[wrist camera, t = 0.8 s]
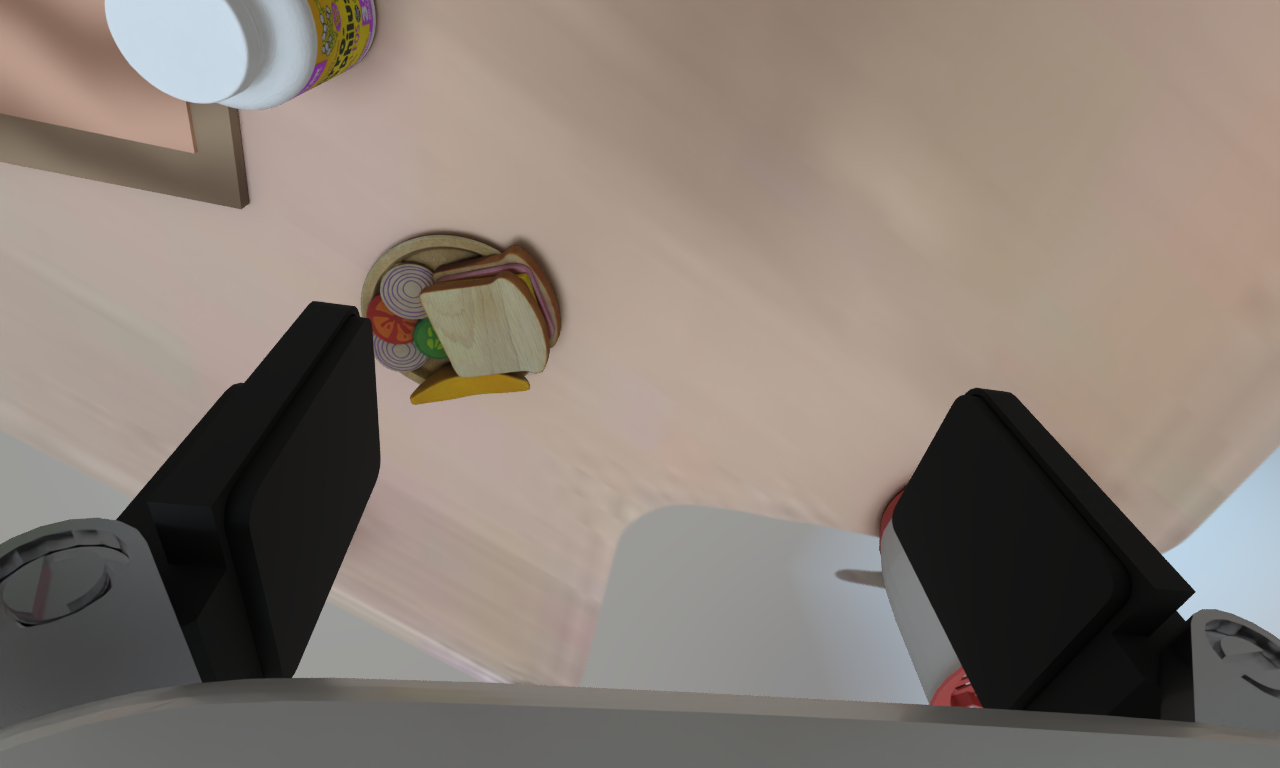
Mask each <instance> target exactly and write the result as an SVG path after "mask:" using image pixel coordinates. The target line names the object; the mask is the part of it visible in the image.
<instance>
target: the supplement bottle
mask: <svg viewBox="0 0 1280 768" xmlns="http://www.w3.org/2000/svg"><path fill="white" fill-rule="evenodd" d="M105 13H106V19H107V23H108V26H109V29H110V32H111V34H112V37H113V39H114V41H115V43H116V45H117V46H118V48H119V50H120V51H121V53H122V54H123V56H124V57H125V59H126V60H127V61H128V63H129V64H130V65H131V66H132V67H133V68H134V69H135V70H136V71H137V72H138V73H139V74H140V75H141V76H142V77H143V78H144V79H145V80H147V81H148V82H149V83H150V84H152V85H153V86H155V87H156V88H157V89H159V90H161V91H162V92H164V93H166V94H168V95H170V96H173V97H175V98H178V99H180V100H184V101H187V102H192V103H200V104H209V103H219V104H221V105H225V106H228V107H232V108H237V109H244V110H262V109H268V108H272V107H276V106H278V105H281V104H283V103H285V102H287V101H289V100H291V99H293V98H294V97H296V96H298V95H300V94H302V93H304V92H306V91H308V90H310V89H312V88H314V87H316V86H318V85H320V84H322V83H323V82H325V81H327V80H329V79H331V78H333V77H335V76H337V75H339V74H341V73H343V72H345V71H347V70H349V69H350V68H352V67H354V66H355V65H356V64H358V63H359V62H360V61H361V60H362V59H363V57H364V56H365V55H366V53H367V52H368V50H369V48H370V46H371V44H372V41H373V38H374V34H375V26H376V14H375V6H374V1H373V0H105Z"/></svg>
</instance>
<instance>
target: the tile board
mask: <svg viewBox="0 0 1280 768" xmlns="http://www.w3.org/2000/svg"><path fill="white" fill-rule="evenodd" d="M0 162H4V163H9V164H14V165H19V166H24V167H29V168H35V169H40V170H45V171H50V172H55V173H60V174H65V175H70V176H75V177H80V178H85V179H91V180H96V181H101V182H106V183H111V184H116V185H121V186H126V187H131V188H136V189H141V190H147V191H152V192H157V193H162V194H167V195H172V196H177V197H182V198H187V199H192V200H197V201H203V202H208V203H213V204H218V205H223V206H228V207H233V208H238V209H242V208H244V207H245V206H246V205H248V204H249V197H248V189H247V181H246V173H245V165H244V157H243V149H242V141H241V133H240V125H239V117H238V109H237V108H232V107H228V106H225V105H221V104H219V103H209V104H200V103H192V102H187V101H184V100H180V99H178V98H175V97H173V96H170V95H168V94H166V93H164V92H162V91H161V90H159V89H157V88H156V87H155V86H153V85H152V84H150V83H149V82H148V81H147V80H145V79H144V78H143V77H142V76H141V75H140V74H139V73H138V72H137V71H136V70H135V69H134V68H133V67H132V66H131V65H130V64H129V63H128V61H127V60H126V59H125V57H124V56H123V54H122V53H121V51H120V50H119V48H118V46H117V45H116V43H115V41H114V39H113V37H112V34H111V32H110V29H109V26H108V23H107V19H106V13H105V0H0Z"/></svg>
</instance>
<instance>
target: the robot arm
mask: <svg viewBox="0 0 1280 768" xmlns="http://www.w3.org/2000/svg"><path fill="white" fill-rule="evenodd" d="M379 469H380V441H379V424H378V408H377V392H376V375H375V359H374V343H373V328H372V322H371V320H370V319H369V318H364V317H360V315H359V312H358V309H357V308H356V307H355V306H348V305H341V304H333V303H326V302H318V301H312V302H311V303H310V304H309V305H308V306H307V307H306V309H305V310H304V311H303V312H302V313H301V315H300V316H299V317H298V318H297V320H296V321H295V322H294V323H293V324H292V326H291V327H290V328H289V329H288V330H287V332H286V333H285V334H284V335H283V337H282V338H281V339H280V340H279V341H278V343H277V344H276V345H275V346H274V348H273V349H272V350H271V351H270V352H269V354H268V355H267V356H266V357H265V358H264V360H263V361H262V362H261V363H260V365H259V366H258V367H257V368H256V369H255V371H254V372H253V373H252V374H251V376H250V377H249V378H248V379H247V380H246V382H245V383H238V384H234V385H232V386H231V387H230V388H229V389H227V390H226V391H225V392H224V393H223V395H222V396H221V397H220V398H219V399H218V401H217V402H216V403H215V404H214V405H213V406H212V408H211V409H210V410H209V411H208V412H207V414H206V415H205V416H204V417H203V418H202V419H201V421H200V422H199V423H198V424H197V425H196V426H195V428H194V429H193V430H192V431H191V432H190V434H189V435H188V436H187V437H186V438H185V439H184V441H183V442H182V443H181V444H180V445H179V446H178V448H177V449H176V450H175V451H174V452H173V454H172V455H171V456H170V457H169V458H168V459H167V461H166V462H165V463H164V464H163V465H162V466H161V468H160V469H159V470H158V471H157V472H156V474H155V475H154V476H153V477H152V478H151V479H150V481H149V482H148V483H147V484H146V485H145V487H144V488H143V489H142V490H141V491H140V492H139V494H138V495H137V496H136V497H135V498H134V499H133V501H132V502H131V503H130V504H129V506H128V507H127V508H126V509H125V510H124V511H123V512H122V514H121V515H120V516H119V517H118V518H117V519H116V520H109V519H102V518H87V519H72V520H66V521H62V522H58V523H54V524H49V525H45V526H41V527H38V528H36V529H33V530H31V531H28V532H26V533H23V534H21V535H18V536H16V537H13V538H11V539H9V540H7V541H6V542H4V543H2V544H1V545H0V768H1280V640H1279V639H1278V638H1277V637H1275V636H1274V635H1272V634H1271V633H1269V632H1268V631H1266V630H1264V629H1262V628H1261V627H1259V626H1257V625H1256V624H1254V623H1252V622H1250V621H1248V620H1245V619H1243V618H1241V617H1238V616H1236V615H1234V614H1231V613H1227V612H1223V611H1219V610H1216V609H1206V610H1205V609H1204V610H1203V609H1202V610H1200V611H1198V612H1197V613H1195V614H1193V615H1192V616H1191V617H1190V618H1189V619H1188V620H1187V621H1185V620H1184V619H1183V618H1182V617H1181V616H1180V615H1179V613H1178V612H1177V611H1176V610H1177V609H1178V608H1179V607H1180V606H1182V605H1183V604H1184V603H1185V602H1186V601H1187V600H1188V599H1189V598H1190V597H1191V596H1192V595H1193V594H1194V593H1195V591H1194V590H1193V588H1192V587H1191V586H1190V585H1189V584H1188V583H1187V582H1186V581H1185V580H1184V579H1183V578H1182V577H1181V576H1180V574H1179V573H1178V572H1177V571H1176V570H1175V569H1174V568H1173V567H1172V566H1171V565H1170V563H1169V562H1167V560H1165V558H1164V557H1163V556H1162V555H1161V554H1160V553H1159V552H1158V550H1157V549H1156V548H1155V547H1154V546H1153V545H1152V544H1151V543H1150V542H1149V541H1148V540H1147V539H1146V537H1145V536H1144V535H1143V534H1142V533H1141V532H1140V531H1139V530H1138V529H1137V528H1136V527H1135V525H1134V524H1133V523H1132V522H1131V521H1130V520H1129V519H1128V518H1127V517H1126V516H1125V515H1124V514H1123V512H1122V511H1121V510H1120V509H1119V508H1118V507H1117V506H1116V505H1115V504H1114V503H1113V502H1112V500H1111V499H1110V498H1109V497H1108V496H1107V495H1106V494H1105V493H1104V492H1103V491H1102V490H1101V489H1100V487H1099V486H1098V485H1097V484H1096V483H1095V482H1094V481H1093V480H1092V479H1091V478H1090V477H1089V476H1088V474H1087V473H1086V472H1085V471H1084V470H1083V469H1082V468H1081V467H1080V466H1079V465H1078V464H1077V462H1076V461H1075V460H1074V459H1073V458H1072V457H1071V456H1070V455H1069V454H1068V453H1067V452H1066V451H1065V449H1064V448H1063V447H1062V446H1061V445H1060V444H1059V443H1058V442H1057V441H1056V440H1055V439H1054V437H1053V436H1052V435H1051V434H1050V433H1049V432H1048V431H1047V430H1046V429H1045V428H1044V427H1043V426H1042V424H1041V423H1040V422H1039V421H1038V420H1037V419H1036V418H1035V417H1034V416H1033V415H1032V414H1031V413H1030V411H1029V410H1028V409H1027V408H1026V407H1025V406H1024V405H1023V404H1022V403H1021V402H1020V401H1019V399H1018V398H1017V397H1016V396H1014V395H1013V394H1012V393H1009V392H1004V391H996V390H989V389H981V388H974V389H971V390H969V391H968V392H967V393H966V394H965V395H962V396H959V397H958V398H957V399H956V400H955V401H954V403H953V405H952V406H951V408H950V410H949V412H948V414H947V415H946V417H945V419H944V421H943V422H942V424H941V426H940V428H939V430H938V431H937V433H936V435H935V437H934V438H933V440H932V442H931V444H930V446H929V447H928V449H927V451H926V453H925V454H924V456H923V458H922V460H921V462H920V463H919V465H918V467H917V469H916V470H915V472H914V474H913V476H912V478H911V479H910V481H909V483H908V485H907V486H906V488H905V490H904V492H903V494H902V495H901V497H900V499H899V501H898V502H897V504H896V506H895V508H894V510H893V514H892V525H893V529H894V531H895V533H896V535H897V537H898V539H899V541H900V543H901V545H902V547H903V549H904V551H905V553H906V555H907V557H908V559H909V561H910V563H911V565H912V567H913V569H914V571H915V573H916V575H917V577H918V579H919V581H920V583H921V585H922V587H923V589H924V591H925V593H926V595H927V597H928V599H929V601H930V603H931V605H932V607H933V609H934V611H935V613H936V615H937V617H938V619H939V621H940V623H941V625H942V627H943V629H944V631H945V633H946V635H947V637H948V639H949V641H950V643H951V645H952V647H953V649H954V651H955V653H956V655H957V657H958V659H959V661H960V663H961V665H962V667H963V669H964V671H965V673H966V675H967V677H968V679H969V681H970V683H971V685H972V687H973V689H974V691H975V693H976V695H977V697H978V699H979V701H980V703H981V705H982V707H983V708H971V707H954V706H937V705H919V704H901V703H882V702H881V703H880V702H864V701H845V700H825V699H808V698H807V699H806V698H788V697H770V696H751V695H732V694H712V693H711V694H710V693H692V692H672V691H651V690H630V689H608V688H588V687H587V688H586V687H567V686H546V685H525V684H505V683H484V682H452V681H419V680H387V679H355V678H292V676H293V675H294V674H295V671H296V670H297V667H298V665H299V663H300V660H301V658H302V656H303V653H304V651H305V648H306V646H307V644H308V642H309V639H310V637H311V634H312V632H313V630H314V627H315V625H316V623H317V620H318V618H319V615H320V613H321V611H322V608H323V606H324V604H325V601H326V599H327V597H328V594H329V592H330V590H331V587H332V585H333V583H334V580H335V578H336V575H337V573H338V571H339V568H340V566H341V564H342V561H343V559H344V557H345V554H346V552H347V549H348V547H349V545H350V542H351V540H352V538H353V535H354V533H355V531H356V528H357V526H358V523H359V521H360V519H361V516H362V514H363V512H364V509H365V507H366V505H367V502H368V500H369V497H370V495H371V493H372V490H373V488H374V486H375V483H376V481H377V478H378V474H379Z"/></svg>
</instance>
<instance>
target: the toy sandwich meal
mask: <svg viewBox="0 0 1280 768" xmlns="http://www.w3.org/2000/svg"><path fill="white" fill-rule="evenodd" d="M361 312H362V317H364V318H369V319H370V320H371V322H372V328H373V343H374V356H375V357H376V359H377V360H378V361H379V362H380V364H382V365H383V366H384V367H386V368H388V369H391V370H393V371H399V372H400V373H402V374H403V375H404V376H406V377H408V378H409V379H411V380H413V381H415V382H417V383H419V384H421V385H420V386H419V387H418V388H417V389H416V390H415V391H414V392H413V393H412V395H411V396H410V400H411V402H412V404H415V405H417V404H424V403H429V402H437V401H444V400H451V399H456V398H461V397H465V396H471V395H477V394H487V393H507V392H517V391H527V390H529V389H530V384H529V382H528V380H527V379H526V378H525V377H524V376H525V375H527V374H528V373H529V372H531V373H540V372H542V371H543V370H544V369H545V367H546V364H547V361H548V358H549V352H550V348H551V347H553V346H554V345H555V344H556V342H557V340H558V338H559V335H560V330H561V319H560V311H559V307H558V303H557V300H556V297H555V294H554V292H553V290H552V287H551V285H550V283H549V281H548V280H547V278H546V276H545V274H544V273H543V271H542V270H541V268H540V267H539V266H538V264H537V263H536V261H535V260H534V259H533V258H532V257H531V256H530V255H529V254H528V253H527V252H526V251H525V250H524V249H522V248H520V247H518V246H512V247H510V248H508V249H507V250H506V251H505V252H503V253H501V252H500V251H498V250H496V249H494V248H492V247H490V246H488V245H486V244H484V243H481V242H478V241H475V240H472V239H468V238H464V237H458V236H451V235H429V236H422V237H418V238H414V239H411V240H408V241H405V242H403V243H401V244H399V245H397V246H395V247H393V248H392V249H390V250H389V251H387V252H386V253H385V254H383V255H382V256H381V257H380V258H379V259H378V260H377V261H376V263H375V264H374V265H373V267H372V268H371V269H370V271H369V273H368V275H367V277H366V279H365V282H364V285H363V289H362V295H361Z"/></svg>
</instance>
